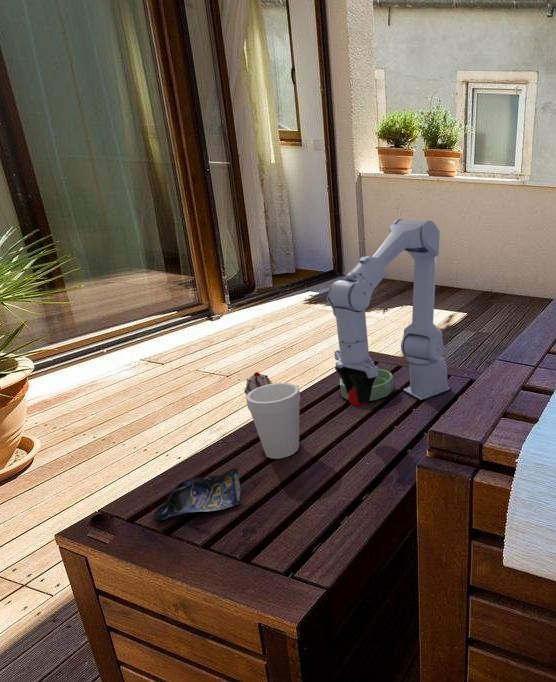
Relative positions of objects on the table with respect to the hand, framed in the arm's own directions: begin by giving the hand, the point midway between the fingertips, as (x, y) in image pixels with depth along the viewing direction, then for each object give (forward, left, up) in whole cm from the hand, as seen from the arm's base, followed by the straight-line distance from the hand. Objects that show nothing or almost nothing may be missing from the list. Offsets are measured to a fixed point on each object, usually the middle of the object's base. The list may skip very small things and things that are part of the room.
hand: (358, 398), depth 101 cm
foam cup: (+15, -5, -8) cm, 18 cm away
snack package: (+32, +3, -8) cm, 34 cm away
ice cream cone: (+15, -13, -8) cm, 22 cm away
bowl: (-12, -18, -8) cm, 23 cm away
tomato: (0, 0, -2) cm, 2 cm away
